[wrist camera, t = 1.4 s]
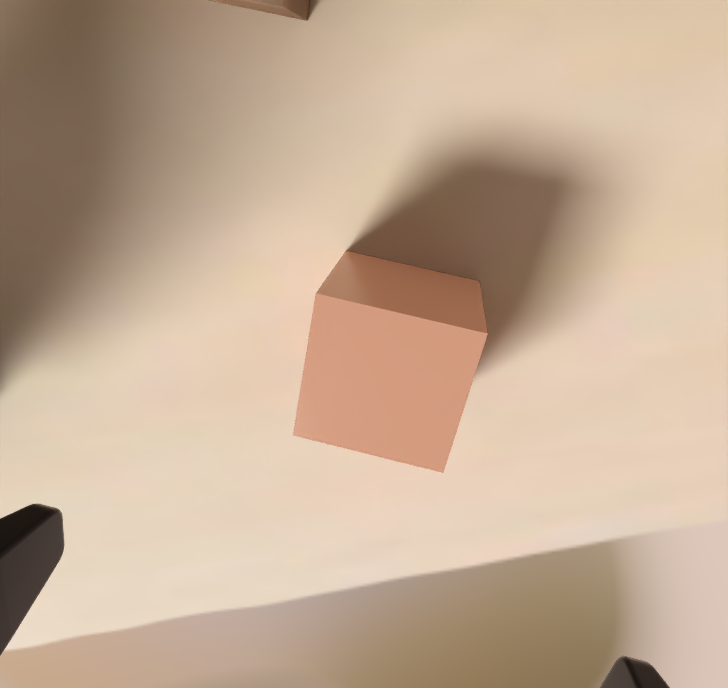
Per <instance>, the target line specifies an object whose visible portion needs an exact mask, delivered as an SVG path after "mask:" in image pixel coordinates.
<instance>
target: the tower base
mask: <svg viewBox="0 0 728 688" xmlns="http://www.w3.org/2000/svg"><path fill="white" fill-rule="evenodd" d="M210 1H215V2H220V3H225V4H230V5H235V6H239V7H244V8H249V9H254V10H259V11H264V12H268V13H273V14H278V15H283V16H288V17H293V18H298V19H302V20H308V11H309V3H310V0H210Z"/></svg>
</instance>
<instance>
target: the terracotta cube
mask: <svg viewBox="0 0 728 688" xmlns="http://www.w3.org/2000/svg"><path fill="white" fill-rule="evenodd" d="M487 335H488V331H487V325H486V319H485V312H484V306H483V300H482V294H481V287H480V281H476V280H472V279H468V278H463V277H459V276H455V275H450V274H446V273H442V272H437V271H433V270H428V269H424V268H420V267H415V266H411V265H407V264H402V263H398V262H394V261H389V260H385V259H381V258H376V257H372V256H367V255H363V254H359V253H354V252H350V251H346V252H345V253H344V254H343V256H342V257H341V259H340V260H339V261H338V263H337V264H336V266H335V267H334V269H333V270H332V271H331V273H330V274H329V276H328V277H327V278H326V280H325V281H324V283H323V284H322V286H321V287H320V288H319V290H318V291H317V293H316V296H315V302H314V309H313V315H312V321H311V327H310V333H309V340H308V346H307V352H306V358H305V364H304V370H303V377H302V383H301V389H300V395H299V401H298V408H297V414H296V420H295V426H294V432H293V435H294V436H298V437H302V438H306V439H310V440H314V441H318V442H322V443H326V444H330V445H334V446H338V447H342V448H346V449H350V450H354V451H358V452H362V453H366V454H370V455H374V456H378V457H382V458H386V459H390V460H394V461H398V462H402V463H406V464H410V465H414V466H418V467H422V468H426V469H430V470H434V471H438V472H442V473H443V472H444V469H445V466H446V463H447V460H448V456H449V453H450V450H451V447H452V444H453V441H454V438H455V435H456V432H457V428H458V425H459V422H460V419H461V416H462V413H463V410H464V407H465V403H466V400H467V397H468V394H469V391H470V388H471V385H472V382H473V379H474V375H475V372H476V369H477V366H478V363H479V360H480V357H481V354H482V351H483V347H484V344H485V341H486V338H487Z"/></svg>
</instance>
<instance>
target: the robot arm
mask: <svg viewBox="0 0 728 688" xmlns="http://www.w3.org/2000/svg"><path fill="white" fill-rule="evenodd" d="M63 550H64V533H63V519H62V513H61V511H60V510H59V509H57V508H54V507H50V506H46V505H42V504H32V505H29V506H27V507H25V508H22V509H20V510H18V511H16V512H14V513H12V514H9V515H7V516H5V517H3V518H1V519H0V655H1V654H2V652H3V651H4V649H5V648H6V646H7V645H8V643H9V642H10V640H11V639H12V637H13V635H14V634H15V632H16V630H17V629H18V627H19V626H20V624H21V622H22V621H23V619H24V617H25V616H26V614H27V613H28V611H29V609H30V608H31V606H32V604H33V603H34V601H35V600H36V598H37V596H38V595H39V593H40V591H41V590H42V588H43V587H44V585H45V583H46V582H47V580H48V578H49V577H50V575H51V574H52V572H53V570H54V569H55V567H56V566H57V564H58V562H59V560H60V558H61V556H62V554H63ZM600 688H670V687H669V686H668V685H667V684H666V682H665V681H664V680H663V679H662V677H661V676H660V675H659V673H658V672H657V671H656V670H655V669H654V667H653V666H652V665H650V664H649V663H648V662H645V661H642V660H638V659H634V658H631V657H627V656H622V657H620V658H618V659H617V660H616V662H615V664H614V665H613V667H612V668H611V670H610V672H609V673H608V675H607V677H606V678H605V680H604V681H603V683H602V685H601V687H600Z"/></svg>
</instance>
